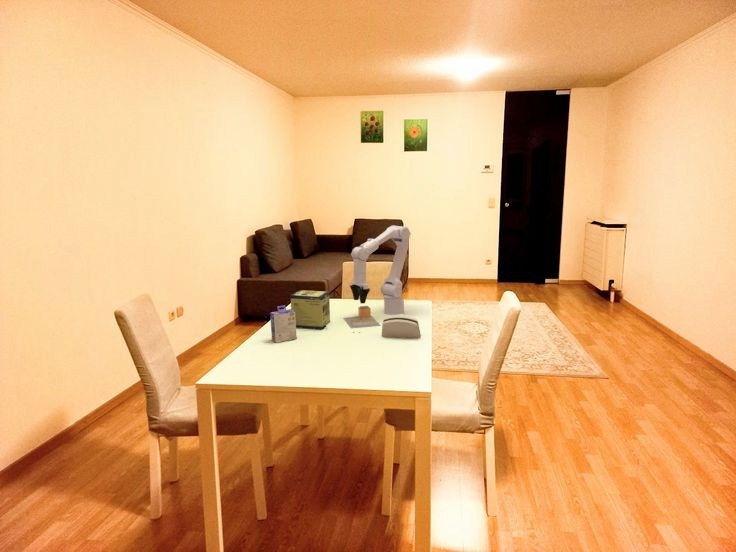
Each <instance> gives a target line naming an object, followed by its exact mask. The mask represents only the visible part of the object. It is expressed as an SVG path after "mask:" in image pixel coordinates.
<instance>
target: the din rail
mask: <svg viewBox="0 0 736 552" xmlns="http://www.w3.org/2000/svg"><path fill="white" fill-rule="evenodd" d="M373 318H374V317H373V316H372V317H371V318H359V319H350V323H351V325H352V326H353V327H360V326H371V325H377V322H378V321H377V320H376V321H374V319H375V318H374V319H373Z"/></svg>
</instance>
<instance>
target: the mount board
mask: <svg viewBox="0 0 736 552" xmlns="http://www.w3.org/2000/svg"><path fill="white" fill-rule="evenodd" d="M371 317H373V316H372V315H371ZM342 319H343V320H344V321H345V323H346V324H347V325H348V327H349V328H350V329H359V328H360V329H361V328H372V327H382V325H381V324H380V323H379V322H378V321H377V320H376V319H375V318H374V317H373V319H374V321H377V325H371V326H360V327H353V326H352V325H351V323H350V319H359V316H351V317H350V316H348V317H343V318H342Z"/></svg>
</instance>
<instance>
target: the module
mask: <svg viewBox="0 0 736 552" xmlns="http://www.w3.org/2000/svg"><path fill="white" fill-rule="evenodd" d="M357 311H358V316H357V317H359V318H371V316H372V314H371V313H372V312H371V307H370V306H368V305H362V306H361V305H360V306H358V310H357Z"/></svg>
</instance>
